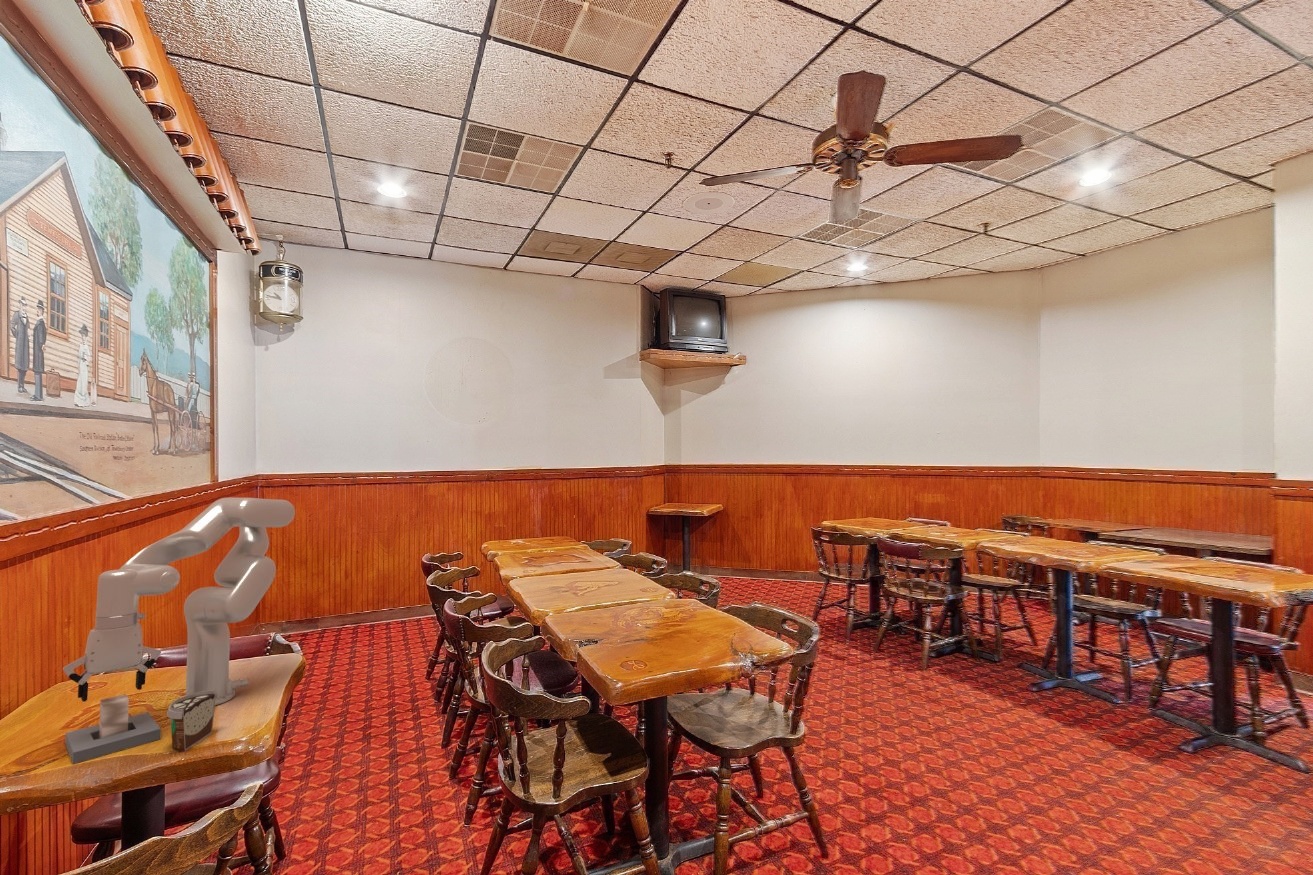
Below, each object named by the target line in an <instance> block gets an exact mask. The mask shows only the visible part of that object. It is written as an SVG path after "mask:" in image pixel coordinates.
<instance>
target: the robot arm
mask: <svg viewBox="0 0 1313 875" xmlns="http://www.w3.org/2000/svg"><path fill="white" fill-rule="evenodd" d="M295 514H296V509H295V506H294V505H293V504H292V503H291V502H290V501H288V500H286V499H275V498H274V499H272V498H271V499H270V498H257V497H222V498H219V499H217V500H215V501H213V502H212V503H211V504H210V505H209V506H208V507H206V508H205V509H204V510H203V511H202V512H201V513H200V514H198V515H197V516H196V517H195V518H194V519H192V521H190V522H188V524H187V525H186V526H184V527H183V528H182V529H180V530H179V531H177V532H174V533H171V534H170V535H168V536H165V537H163V538H162V539H160V540H157V541H156V542H153V543H152V544H150V545H147V546H146V547H144V548H142V549H141V550H139V551H138V552H137V553H136V554H134V555H133V556H132V557H131V558H130V559H128V560H127V561H126V562H125V563H124V564H123V565H121V567H120V568H119V569H113V570H112V569H111V570H106V571H104V572H102V573H100V574H99V576H98V579H97V589H96V590H97V594H96V595H97V596H96V607H95V608H96V609H95V621H94V622H95V625H94V628H93V629H91V630H89V633H88V636H87V640H86V644H85V645H86V646H85V650H84V651H85V652H84V655H83V656H82V657H79V658H77V659H76V660H73V661H72V662H70V663H68V664H67V665H65V666H63V667H62V670H63V672H64V673H65V675H66V676H67V677H68V679H70V680H72V681H73V682H75V683H77V684H78V686H77V689H78V690H77V698H78V699H80V698H81V701H82V702H83V703H84V702H87V701H88V694H89V693H88V692H89V682H88V680H89V679H90V678H91V677H92V676H94V675H97V674H103V673H109V672H113V671H118V670H125V669H129V668H133V667H135V668H136V669H137V671H136V674H135V688H136V690H138V691H139V690H142V689H143V685H146V673H147V672H148V670H150V668H151V667H152V666H153V665H155V663H156V661H157V660H158V658H159V657H160V655H161V654H162V650H160V649H158V648H152V647H149V646H145V645H143V644H144V642H143V639H144V638H143V631H142V626H141V623H140V621H141V620H142V619H146V613H145V612H141V613H140V612H139V601H140V597H144V596H147V597H148V596H160V595H164V594H167V593H169V592H171V591H172V590H174V589H175V588H176V587H178V584H179V582H180V580H181V576H180V575H181V574H180V572H179V571H178V569H176V568H175V567H173V566H171V565H169V564H171V563H174V562H177V561H180V560H182V559H185V558H190V557H193V556H196V555H199V554H202V553H205V552H207V551H209V550H210V549H211V548H212V547H213V546H214V545H216V544H217V543H218V542H219V540H221V539H222V538H223V537H224V536H226V534H227V533H228V532H229V531H230V530H232V528H235V527H239V536H238V538H237V541H236V542H235V543H234V545H233V546H232V548H231V549H230V550H229V551H228V553H227V554H226V556H224V558H223V559H222V561H221V562H220V563H219V565H217V568H216V569H215V571H214V574H213V575H214V576H213V579H214V581H215V583H216V584H217V585H219V586H205V587H200V588H197V589H195V590H194V591H192V592H191V593H190V594H189V595H188V596H187V597H186V599H185V601H184V604H183V614H184V618H185V619H184V620H185V623H186V624H185V625H186V628H187V629H186V630H187V645H186V646H187V647H186V678H185V679H186V681H185V684H186V685H185V696H187V695H190V694H194V693H198V692H203V691H211V690H216V692H217V698H215V706H216V705H221V704H223V703H227V702H228V701H230V700H232V699H233V698H234V697H235V695H236V689H237V688H239V687H240V688H242V687H246V686H248V685H249V684H250V682H249V678H243V679H241V678H237V679H232V680H231V679H230V648H231V647H230V646H231V634H230V628H229V625H228V624H236V623H240V622H243V621H244V620H246V619H247V618H249V616H251V614H252V613H253V612H254V611H255V609H256V607H257V606H258V604H259V603H260V601H261V600H262V599H263V597H264V595H266V593H267V591H268V589H269V588H271V585H272V584H273V582H274V579H275V577H276V572H277V567H276V563H275V561H274V560H273V559H272V558H270V557H269V556H265V555H266V553H267V551H268V549H269V547H270V539H269V536H268V532H267V528H284V527H286V526H288V525H289V524H290V523H292V522H293V520H294V518H295ZM144 654H148V655H150V658H149V659H148V660H146V662H144V663H143V658H144ZM82 665H83V669H84V670H85V671H83V673H81V674H80V675H79V674H78V673H76V672H75V671H74V669H75V668H78V667H79V666H82Z"/></svg>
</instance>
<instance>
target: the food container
mask: <svg viewBox="0 0 1313 875" xmlns="http://www.w3.org/2000/svg"><path fill="white" fill-rule="evenodd" d="M215 698H217V692H216V690H211V691H203V692H198V693H194V694H190V695H187V696H186V695H184V696H181V697H179V698H177V699H175V700H174V701H172V702H171V703H170V705H169V707H168V708H167V712H166V717H167V718H169V719H170V727H171V728H170V730H171V744H172V749H173V751H176V752H186V751H187V750H189V749H190V748H192V747H193V746H195V745H196V744H198V743H199V742H201V741H202V740H203V739H205V738H207V737H208V736H209V735H212V734H213V729H214V728H213V727H214V717H215V708H216V707H215V706H216V705H215Z"/></svg>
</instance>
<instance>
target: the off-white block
mask: <svg viewBox="0 0 1313 875" xmlns="http://www.w3.org/2000/svg"><path fill="white" fill-rule="evenodd" d="M99 700H100V703H99V724H98V725H99V739H100V738H104V737H107V736H111V735H115V734H119V733H122V732H126V731H128V717H129V704H130V702H129V700H130V699H129V697H128V695H127V694H119V695H115V696H111V697H107V698H102V699H99Z"/></svg>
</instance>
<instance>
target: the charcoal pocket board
mask: <svg viewBox="0 0 1313 875" xmlns="http://www.w3.org/2000/svg"><path fill="white" fill-rule="evenodd" d="M161 732H162V728H161V727H160V725H159V724H158V723H157V722H156V721H155V719H154V718H153V717H152V715H151V714H150V713H149V711H147V712H142V713H139V714H134V715H130V716H128V731H126V732H122V733H119V734H115V735H111V736H107V737H104V738H100V739H99V724H95V725H92V726H87V727H84V728H80V729H75V730H72V731H68V732H65V737H64V739H65V741H64V743H65V747H66V749H67V750H66V751H68V752H67V753H68V754H69V757H70V760H71V763H72V765H75V764H79V763H82V762H86V761H89V760H93V759H96V758H100V757H103V755H104V756H107V755H110V753H111V754H113V753H112V752H114V753H116V751H118V750H121V751H123V749H125V750H127V749H126V748H128V749H131V747H132V748H135V747H139V746H142V745H146V744H148V743H152V742H155V741H159V740H161V736H162V733H161ZM134 746H135V747H134ZM118 752H119V751H118ZM106 754H107V755H106ZM99 756H100V757H99ZM92 758H93V759H92ZM85 760H86V761H85ZM78 762H79V763H78Z"/></svg>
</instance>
